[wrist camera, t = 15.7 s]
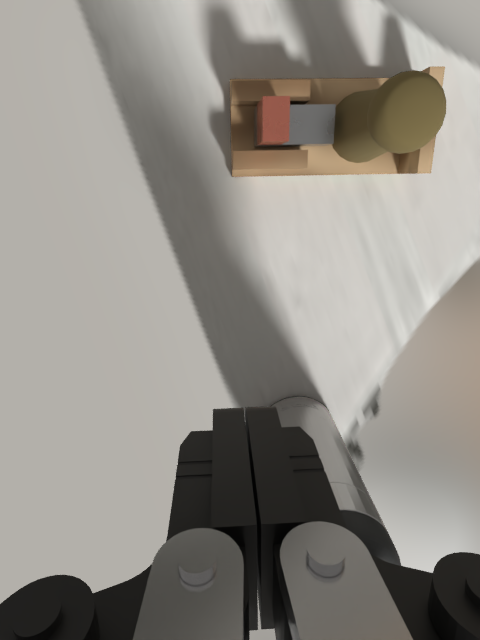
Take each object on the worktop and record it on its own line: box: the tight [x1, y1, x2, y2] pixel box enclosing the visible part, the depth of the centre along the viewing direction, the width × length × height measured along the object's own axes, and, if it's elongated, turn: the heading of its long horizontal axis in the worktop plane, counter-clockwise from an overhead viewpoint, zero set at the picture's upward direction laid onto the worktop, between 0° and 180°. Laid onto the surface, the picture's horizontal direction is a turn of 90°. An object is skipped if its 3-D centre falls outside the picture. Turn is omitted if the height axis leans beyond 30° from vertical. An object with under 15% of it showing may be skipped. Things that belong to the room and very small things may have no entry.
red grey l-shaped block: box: [254, 96, 336, 147], centre depth 33 cm, size 3×6×7 cm, turn 91°
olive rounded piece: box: [332, 70, 446, 163], centre depth 32 cm, size 6×6×11 cm
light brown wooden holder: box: [230, 67, 445, 177], centre depth 36 cm, size 8×17×5 cm, turn 91°
